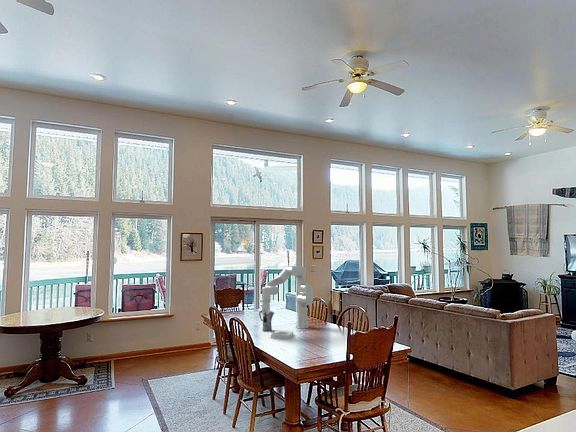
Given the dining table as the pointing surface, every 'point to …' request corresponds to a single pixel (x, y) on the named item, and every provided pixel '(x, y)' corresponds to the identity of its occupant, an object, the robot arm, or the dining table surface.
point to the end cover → (267, 321)
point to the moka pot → (269, 328)
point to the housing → (282, 334)
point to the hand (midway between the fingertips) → (266, 321)
